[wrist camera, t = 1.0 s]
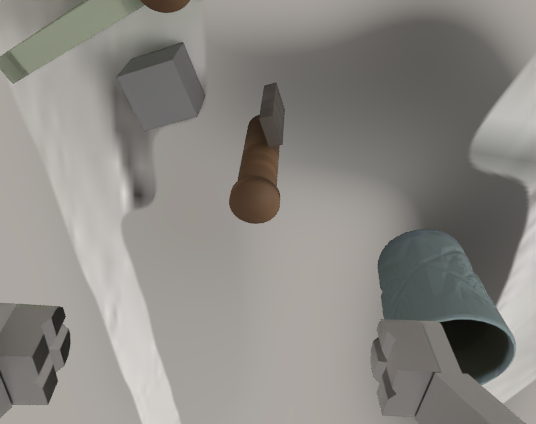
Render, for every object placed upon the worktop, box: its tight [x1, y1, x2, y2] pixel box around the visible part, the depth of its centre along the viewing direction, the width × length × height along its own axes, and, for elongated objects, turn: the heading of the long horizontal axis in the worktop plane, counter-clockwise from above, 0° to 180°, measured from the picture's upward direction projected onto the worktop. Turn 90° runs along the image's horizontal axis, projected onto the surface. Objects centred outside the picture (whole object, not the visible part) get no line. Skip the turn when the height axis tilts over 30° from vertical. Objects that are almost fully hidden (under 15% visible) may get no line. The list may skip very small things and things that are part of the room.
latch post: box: [229, 83, 285, 224], centre depth 35 cm, size 4×5×11 cm
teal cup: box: [378, 229, 516, 385], centre depth 43 cm, size 10×10×12 cm
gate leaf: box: [0, 0, 145, 84], centre depth 30 cm, size 2×10×8 cm, turn 118°
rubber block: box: [116, 43, 205, 131], centre depth 36 cm, size 4×4×4 cm
